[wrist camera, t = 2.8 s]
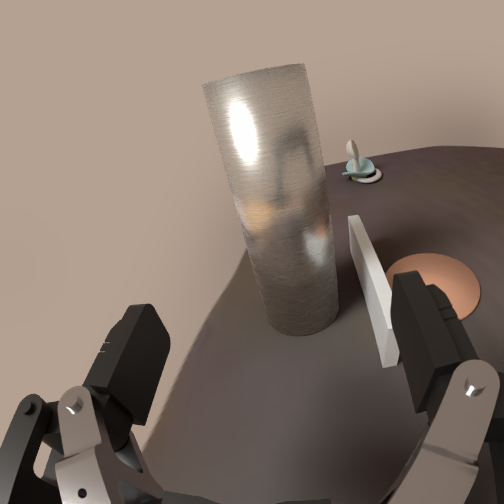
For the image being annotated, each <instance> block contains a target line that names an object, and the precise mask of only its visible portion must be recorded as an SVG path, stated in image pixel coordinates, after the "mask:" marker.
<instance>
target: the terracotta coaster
mask: <svg viewBox="0 0 504 504" xmlns="http://www.w3.org/2000/svg"><path fill="white" fill-rule="evenodd" d="M415 270H417V271H418V272H419V273H420V275H421V277H422V279H423V281H424V283H425V284H426V285H430V284H435V285H436V286H437V287H439V288H440V289H441V290H442V291H443V292H445V293H446V295H447V297H448V298H449V300H450V302H451V304H452V308H454V310H455V311H456V313H457V315H458V319H460V321H461V320H463V319H465V318H466V317H468V316H469V315H470V314H471V313H472V312H473V311H474V309H475V308H476V306H477V304H478V301H479V298H480V285H479V282H478V280H477V278H476V276H475V275H474V273H473V272H472V271H471V270H470V269H469V268H468V267H467V266H466V265H464V264H463V263H461V262H460V261H458V260H456V259H454V258H451V257H448V256H445V255H441V254H434V253H421V254H414V255H410V256H407V257H404V258H402V259H400V260H398V261H397V262H395V263H394V264H393V265H392V266H391V267H390V268H389V269H388V271H387V272H386V274H385V276H386V279H387V281H388V284H389V286H390V289H391V291H392V285H393V276H394V274H397V273H403V272H409V271H415Z"/></svg>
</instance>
